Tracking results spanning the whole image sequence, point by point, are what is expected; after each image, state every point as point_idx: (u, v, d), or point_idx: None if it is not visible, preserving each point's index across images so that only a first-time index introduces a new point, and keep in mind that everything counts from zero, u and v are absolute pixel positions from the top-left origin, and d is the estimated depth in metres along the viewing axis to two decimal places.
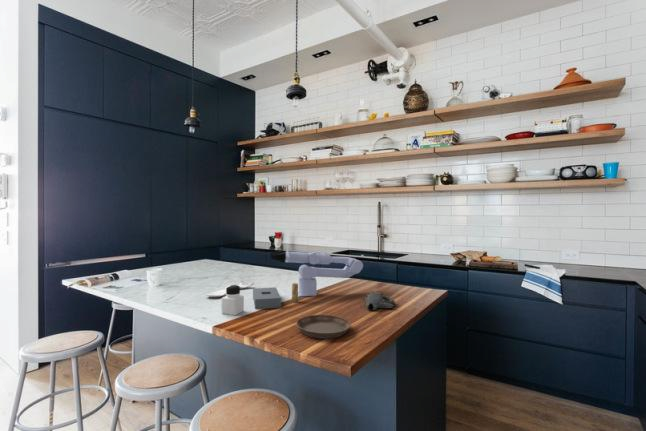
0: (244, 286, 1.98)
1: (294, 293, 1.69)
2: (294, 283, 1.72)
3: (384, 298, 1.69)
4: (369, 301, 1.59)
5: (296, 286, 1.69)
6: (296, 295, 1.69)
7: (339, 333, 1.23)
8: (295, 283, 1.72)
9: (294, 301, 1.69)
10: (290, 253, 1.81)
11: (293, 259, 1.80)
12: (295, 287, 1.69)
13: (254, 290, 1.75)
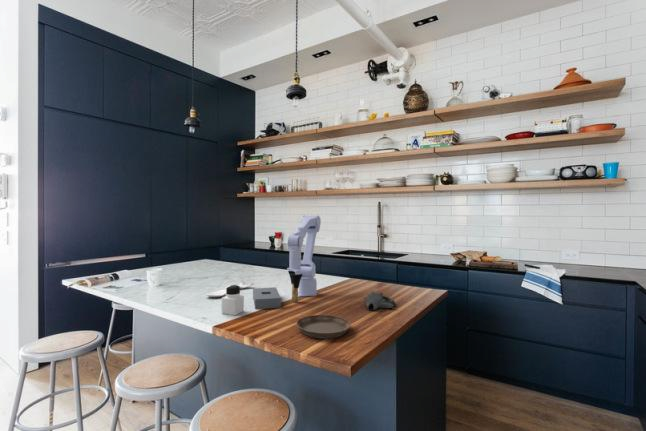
0: (244, 286, 1.98)
1: (294, 293, 1.69)
2: None
3: (384, 298, 1.70)
4: (369, 301, 1.59)
5: None
6: (296, 295, 1.69)
7: (339, 333, 1.23)
8: None
9: (294, 301, 1.69)
10: (291, 266, 1.68)
11: (297, 263, 1.68)
12: None
13: (254, 290, 1.75)
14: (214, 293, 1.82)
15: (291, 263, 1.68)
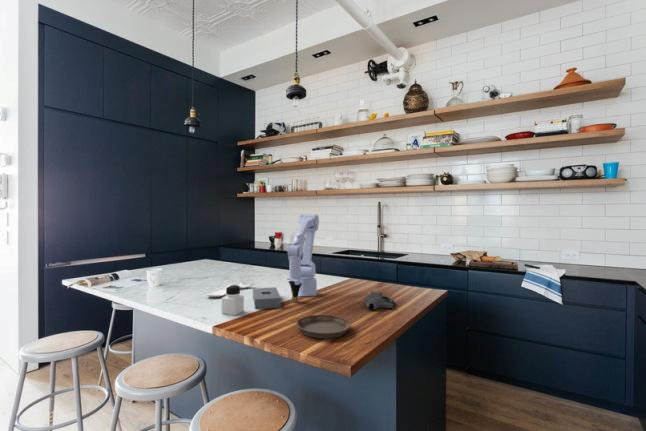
0: (244, 286, 1.98)
1: None
2: None
3: (384, 298, 1.70)
4: (369, 301, 1.59)
5: None
6: None
7: (339, 333, 1.23)
8: None
9: (294, 301, 1.69)
10: (291, 276, 1.68)
11: (297, 273, 1.68)
12: None
13: (254, 290, 1.75)
14: (214, 293, 1.82)
15: (291, 273, 1.68)
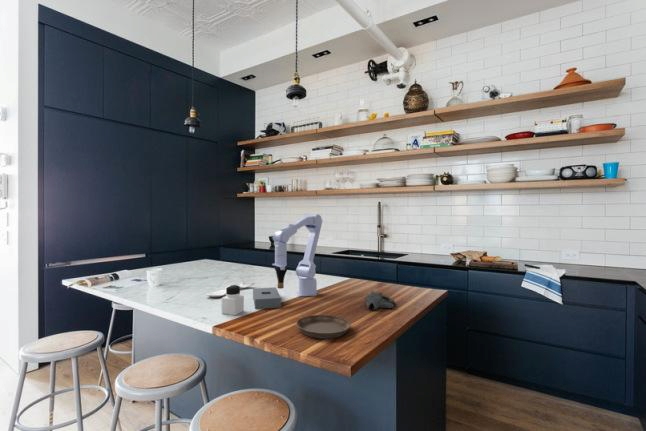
0: (245, 286, 1.98)
1: None
2: None
3: (384, 298, 1.70)
4: (369, 301, 1.59)
5: None
6: None
7: (339, 333, 1.23)
8: None
9: (280, 287, 1.68)
10: (277, 262, 1.67)
11: (283, 258, 1.67)
12: None
13: (254, 290, 1.75)
14: (214, 293, 1.82)
15: (276, 259, 1.67)
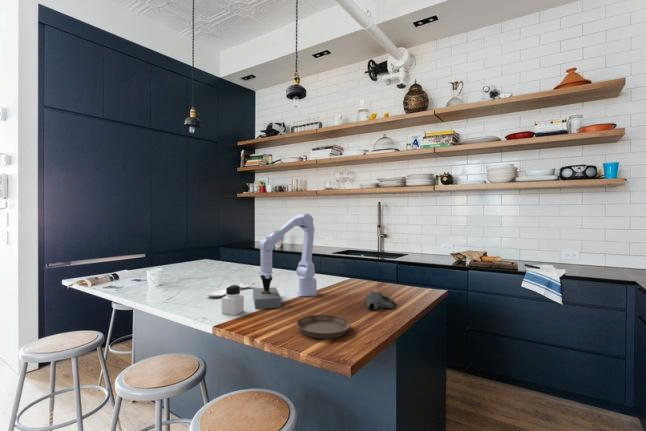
0: (245, 286, 1.98)
1: None
2: None
3: (384, 298, 1.70)
4: (370, 301, 1.60)
5: None
6: None
7: (339, 333, 1.23)
8: None
9: None
10: (262, 270, 1.67)
11: (268, 267, 1.67)
12: None
13: (254, 290, 1.75)
14: (214, 293, 1.82)
15: (262, 267, 1.67)
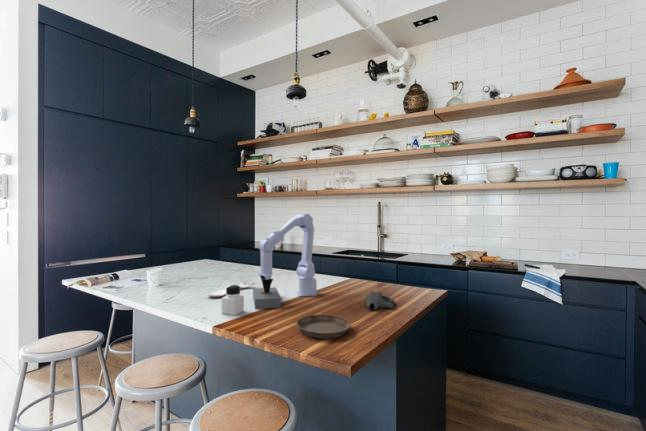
0: (245, 286, 1.98)
1: (265, 293, 1.68)
2: None
3: (383, 298, 1.70)
4: (370, 301, 1.60)
5: None
6: None
7: (339, 333, 1.23)
8: None
9: None
10: (262, 271, 1.67)
11: (268, 268, 1.67)
12: None
13: (254, 290, 1.75)
14: (215, 293, 1.82)
15: (262, 268, 1.67)
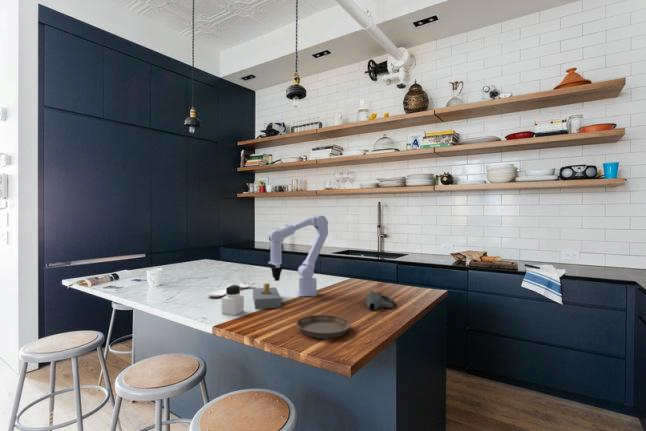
0: (245, 286, 1.98)
1: (265, 293, 1.68)
2: (266, 283, 1.71)
3: (383, 297, 1.70)
4: (370, 301, 1.60)
5: (267, 286, 1.69)
6: None
7: (339, 333, 1.23)
8: (267, 283, 1.71)
9: None
10: (272, 260, 1.77)
11: (278, 257, 1.77)
12: (266, 287, 1.68)
13: (254, 290, 1.75)
14: (215, 293, 1.82)
15: (272, 257, 1.77)
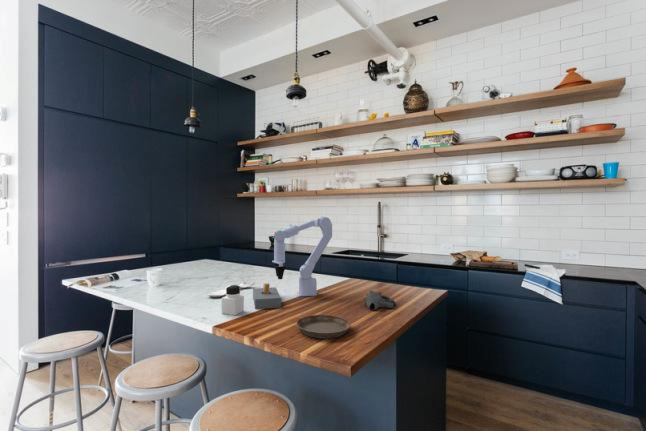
0: (245, 286, 1.98)
1: (265, 293, 1.68)
2: (266, 283, 1.71)
3: (383, 297, 1.71)
4: (370, 301, 1.60)
5: (267, 286, 1.69)
6: None
7: (339, 333, 1.23)
8: (267, 283, 1.71)
9: None
10: (276, 259, 1.81)
11: (281, 256, 1.81)
12: (266, 287, 1.68)
13: (254, 290, 1.75)
14: (215, 293, 1.82)
15: (275, 256, 1.81)
